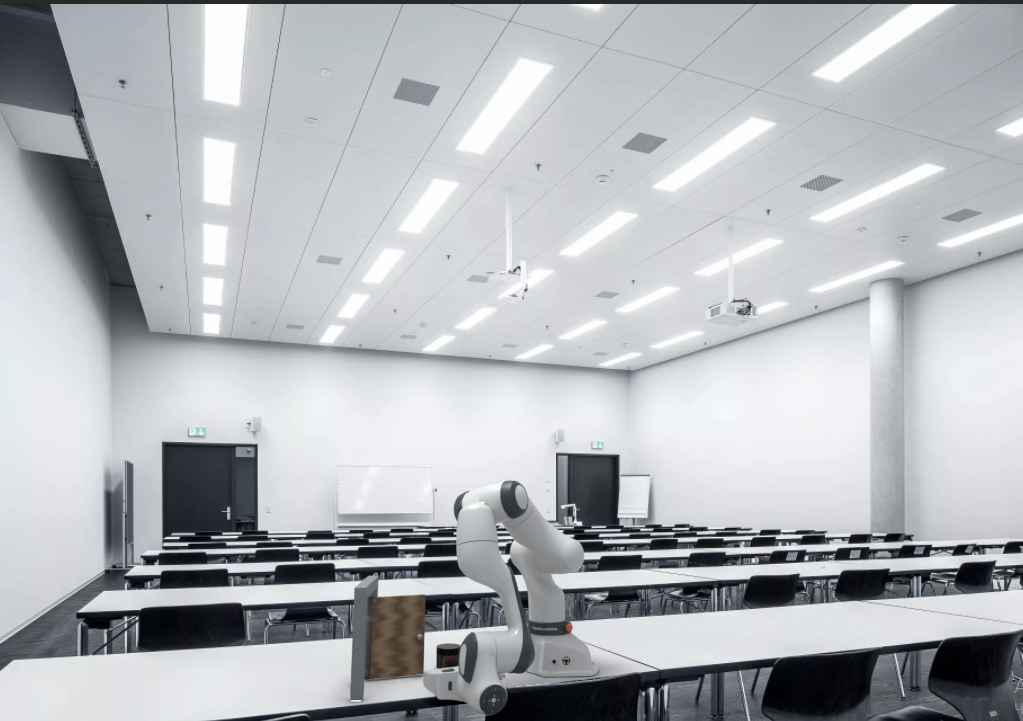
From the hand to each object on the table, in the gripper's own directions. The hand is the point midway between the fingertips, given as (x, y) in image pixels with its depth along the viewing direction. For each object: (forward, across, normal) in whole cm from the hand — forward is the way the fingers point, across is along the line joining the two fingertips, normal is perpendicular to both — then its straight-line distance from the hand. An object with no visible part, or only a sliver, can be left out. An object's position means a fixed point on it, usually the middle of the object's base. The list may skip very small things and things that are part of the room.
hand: (453, 668), depth 185 cm
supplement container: (+4, 0, +6) cm, 7 cm away
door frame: (+11, +22, +5) cm, 25 cm away
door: (+16, +12, +5) cm, 21 cm away
